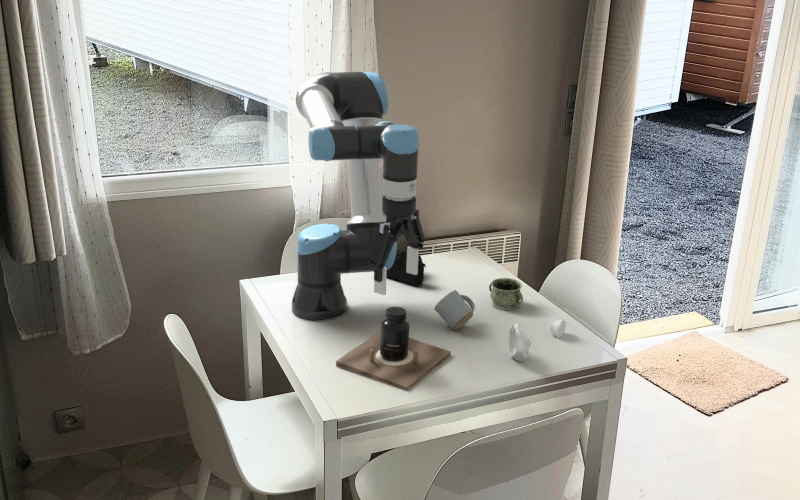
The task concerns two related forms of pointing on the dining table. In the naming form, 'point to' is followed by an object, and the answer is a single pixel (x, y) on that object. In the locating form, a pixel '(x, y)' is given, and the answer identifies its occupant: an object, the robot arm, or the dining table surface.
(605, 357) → the dining table surface
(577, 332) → the dining table surface
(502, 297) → the vessel
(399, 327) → the supplement bottle
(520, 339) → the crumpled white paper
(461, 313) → the ceramic mug
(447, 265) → the dining table surface
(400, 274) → the film camera
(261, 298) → the dining table surface
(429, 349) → the pin board
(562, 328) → the white irregular lump
